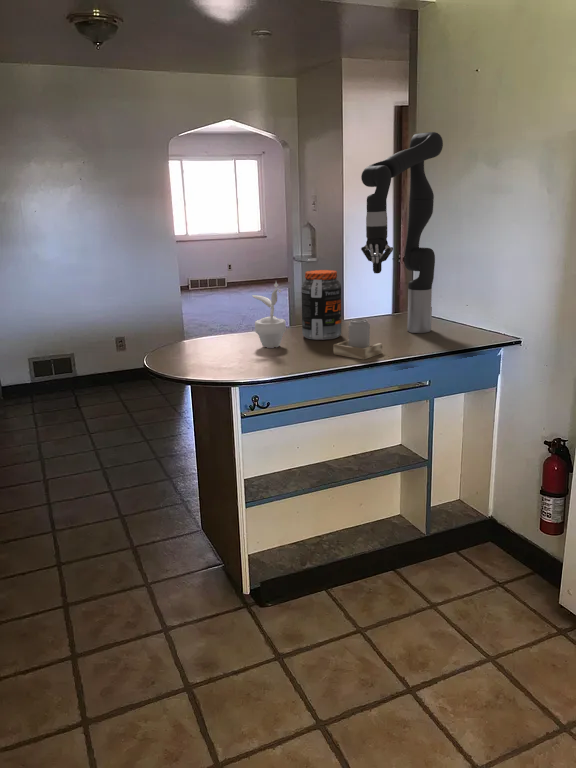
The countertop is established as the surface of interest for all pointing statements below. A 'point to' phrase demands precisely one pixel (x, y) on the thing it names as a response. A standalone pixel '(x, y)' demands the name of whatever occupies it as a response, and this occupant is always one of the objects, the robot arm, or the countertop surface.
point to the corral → (356, 350)
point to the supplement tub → (321, 305)
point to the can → (359, 333)
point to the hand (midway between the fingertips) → (377, 273)
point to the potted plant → (270, 323)
